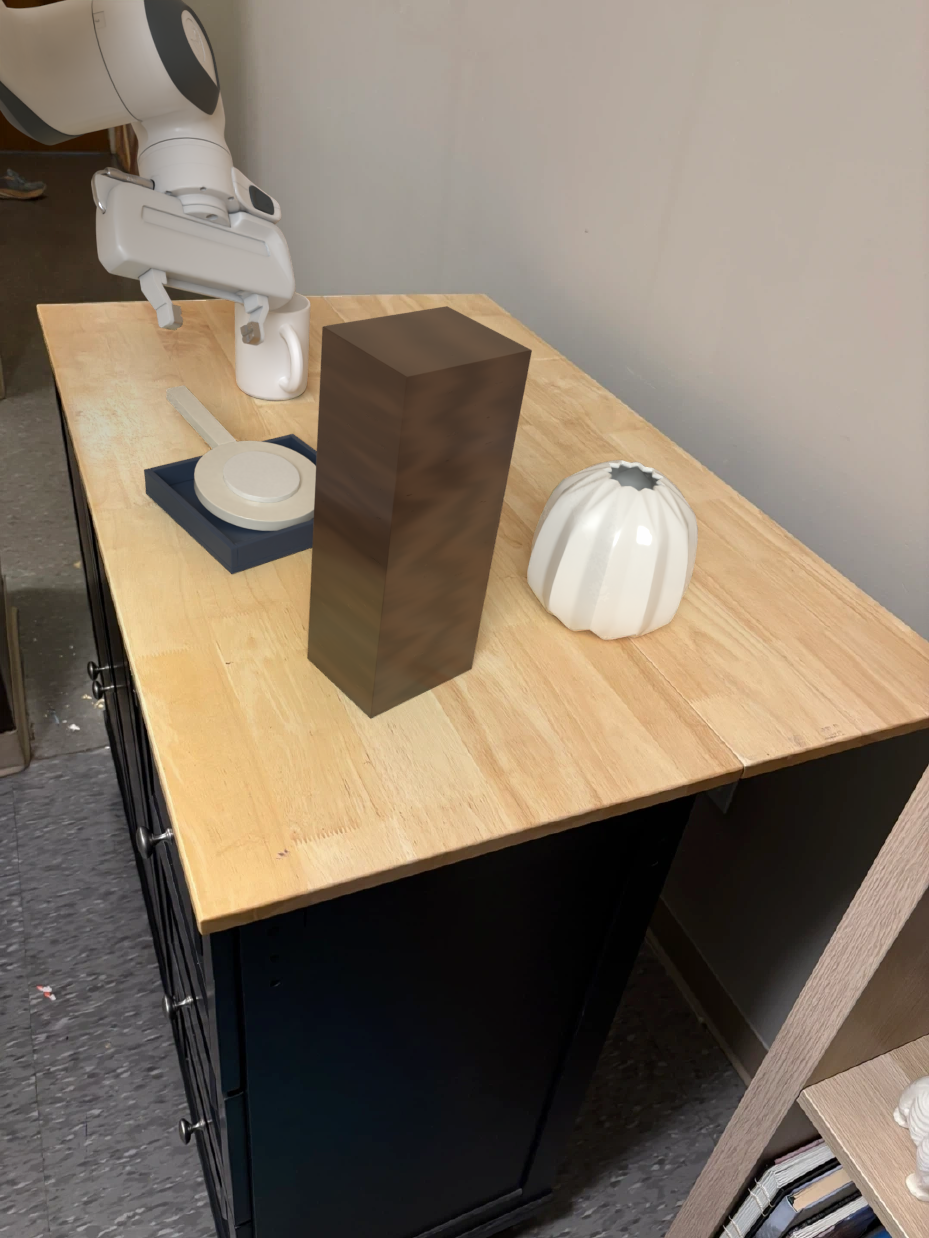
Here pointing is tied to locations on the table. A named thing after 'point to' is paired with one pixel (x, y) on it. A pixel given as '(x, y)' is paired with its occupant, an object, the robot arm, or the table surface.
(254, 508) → the beige frying pan
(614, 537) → the vase
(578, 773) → the table surface
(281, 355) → the mug
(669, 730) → the table surface
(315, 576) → the stand
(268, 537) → the tray
